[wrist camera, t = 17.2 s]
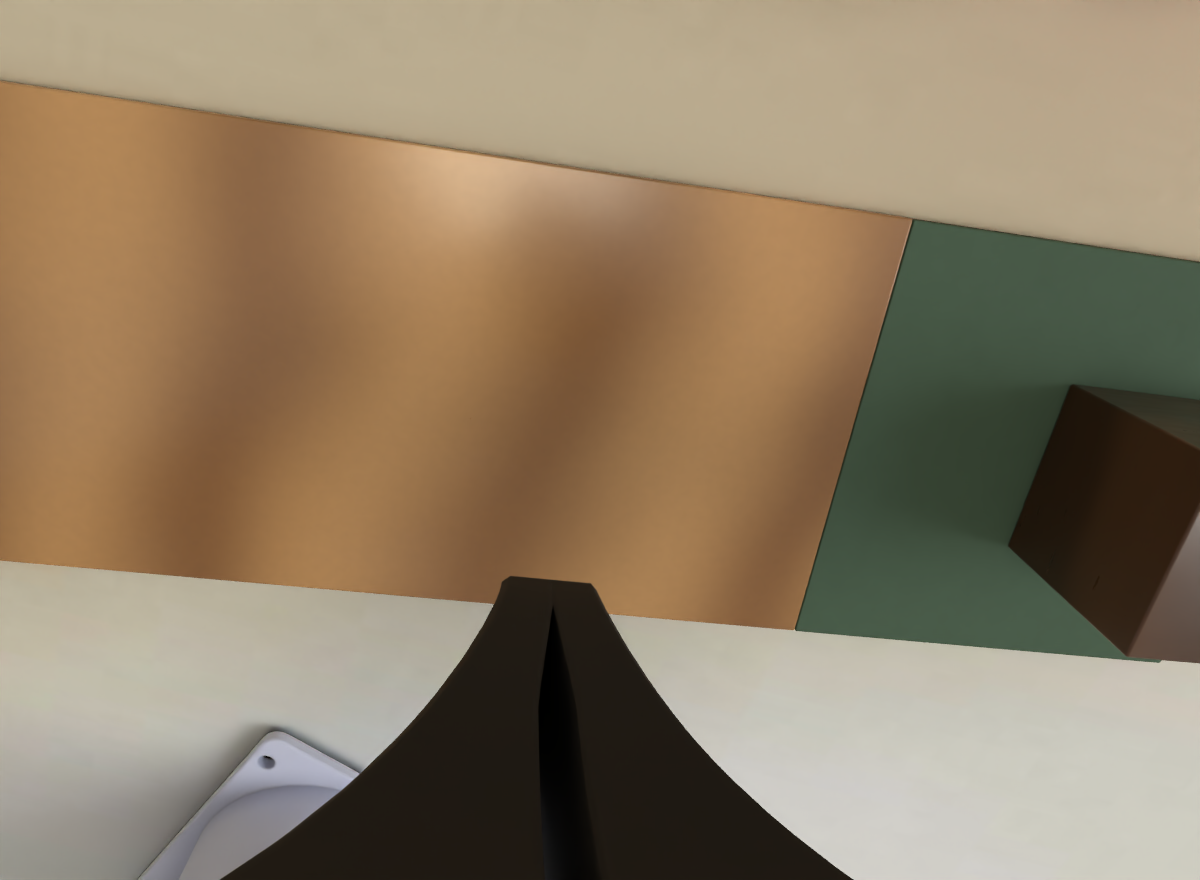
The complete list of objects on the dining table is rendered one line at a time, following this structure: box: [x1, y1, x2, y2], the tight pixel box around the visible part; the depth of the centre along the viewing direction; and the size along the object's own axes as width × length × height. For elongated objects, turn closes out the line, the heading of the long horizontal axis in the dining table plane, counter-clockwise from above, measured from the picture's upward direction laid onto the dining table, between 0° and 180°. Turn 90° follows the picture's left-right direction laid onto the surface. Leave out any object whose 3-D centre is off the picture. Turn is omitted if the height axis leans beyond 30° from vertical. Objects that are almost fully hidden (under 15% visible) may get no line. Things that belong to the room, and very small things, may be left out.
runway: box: [0, 80, 912, 630], centre depth 19 cm, size 32×12×1 cm, turn 82°
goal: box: [795, 219, 1200, 663], centre depth 22 cm, size 12×12×1 cm
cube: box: [1008, 384, 1200, 663], centre depth 19 cm, size 5×5×5 cm
